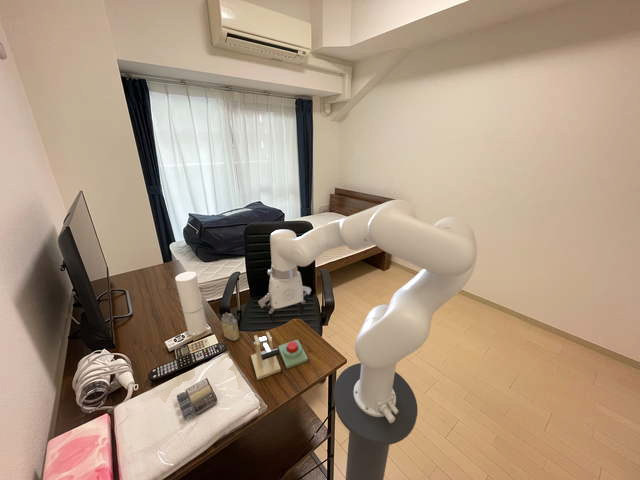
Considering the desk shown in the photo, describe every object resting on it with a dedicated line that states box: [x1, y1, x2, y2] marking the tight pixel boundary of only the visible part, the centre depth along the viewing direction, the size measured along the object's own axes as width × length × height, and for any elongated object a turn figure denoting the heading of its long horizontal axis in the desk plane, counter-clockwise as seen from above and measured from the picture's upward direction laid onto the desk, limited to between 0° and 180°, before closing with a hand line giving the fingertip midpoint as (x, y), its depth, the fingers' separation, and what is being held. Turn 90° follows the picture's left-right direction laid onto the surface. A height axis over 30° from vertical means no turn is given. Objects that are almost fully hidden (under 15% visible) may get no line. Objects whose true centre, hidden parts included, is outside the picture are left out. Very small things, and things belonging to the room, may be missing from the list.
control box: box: [277, 339, 309, 369], centre depth 91 cm, size 10×8×3 cm
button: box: [287, 341, 297, 353], centre depth 90 cm, size 4×4×2 cm
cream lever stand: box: [250, 331, 282, 381], centre depth 85 cm, size 10×8×12 cm
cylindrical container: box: [174, 271, 208, 336], centre depth 99 cm, size 7×7×25 cm
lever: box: [258, 335, 280, 360], centre depth 80 cm, size 12×5×2 cm, turn 25°
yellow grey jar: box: [221, 312, 240, 342], centre depth 98 cm, size 7×4×10 cm, turn 61°
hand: (286, 316), depth 82 cm, fingers open, 9 cm apart
